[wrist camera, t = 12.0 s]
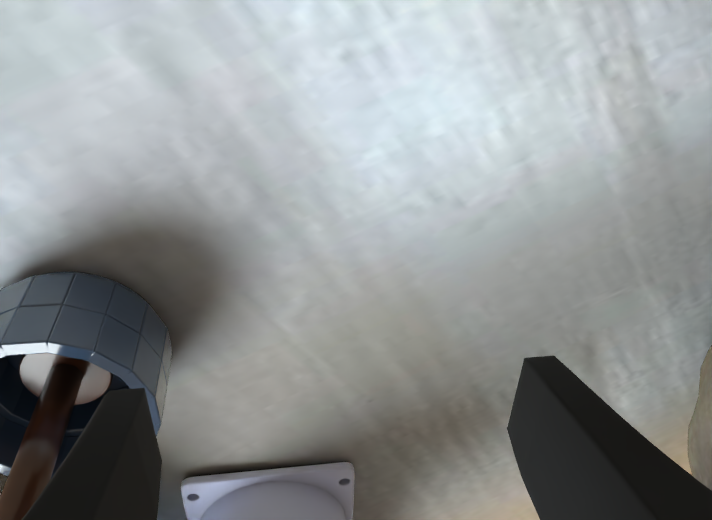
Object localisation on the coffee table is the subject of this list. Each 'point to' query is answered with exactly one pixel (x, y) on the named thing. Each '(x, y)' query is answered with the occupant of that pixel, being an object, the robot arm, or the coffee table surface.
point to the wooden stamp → (47, 423)
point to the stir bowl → (77, 347)
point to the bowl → (702, 428)
